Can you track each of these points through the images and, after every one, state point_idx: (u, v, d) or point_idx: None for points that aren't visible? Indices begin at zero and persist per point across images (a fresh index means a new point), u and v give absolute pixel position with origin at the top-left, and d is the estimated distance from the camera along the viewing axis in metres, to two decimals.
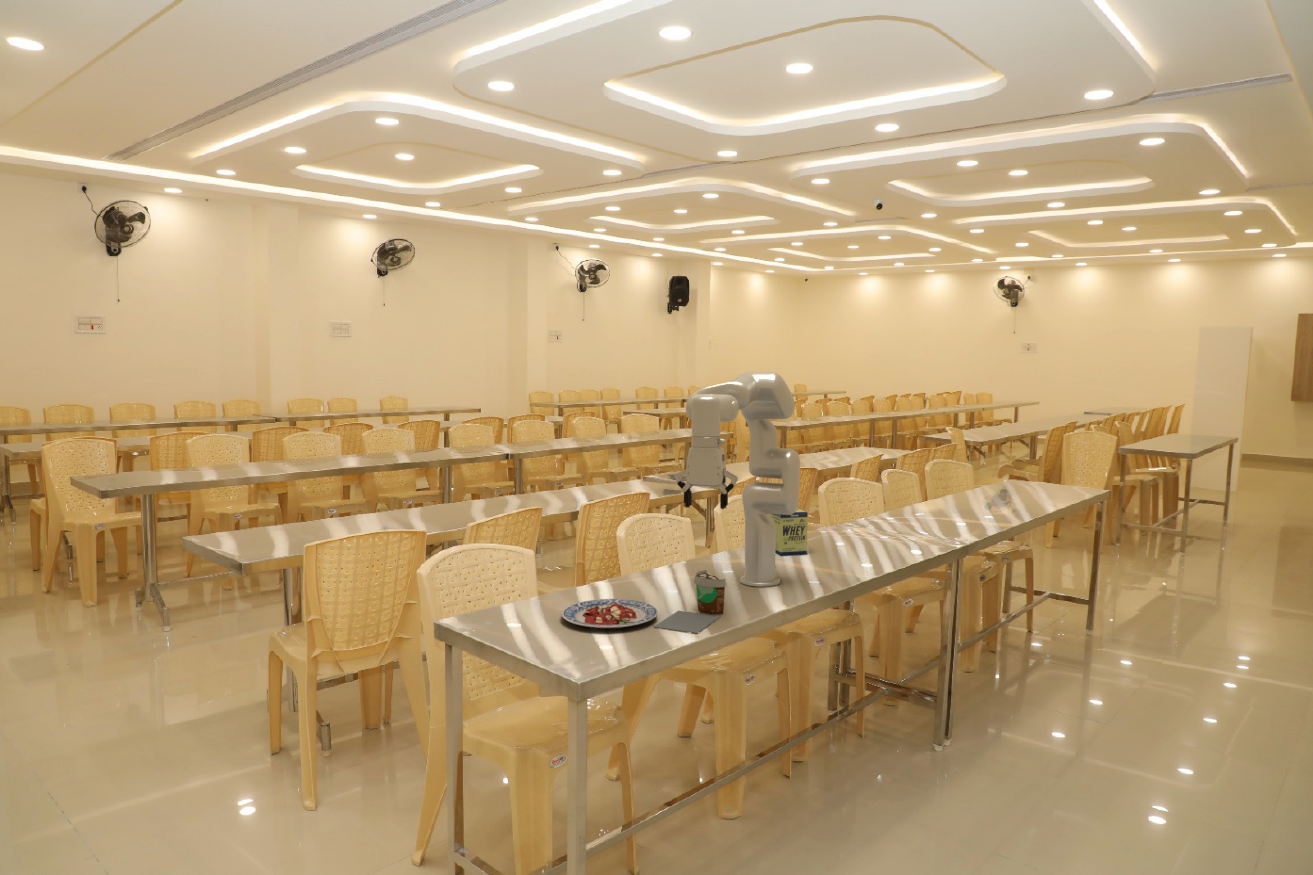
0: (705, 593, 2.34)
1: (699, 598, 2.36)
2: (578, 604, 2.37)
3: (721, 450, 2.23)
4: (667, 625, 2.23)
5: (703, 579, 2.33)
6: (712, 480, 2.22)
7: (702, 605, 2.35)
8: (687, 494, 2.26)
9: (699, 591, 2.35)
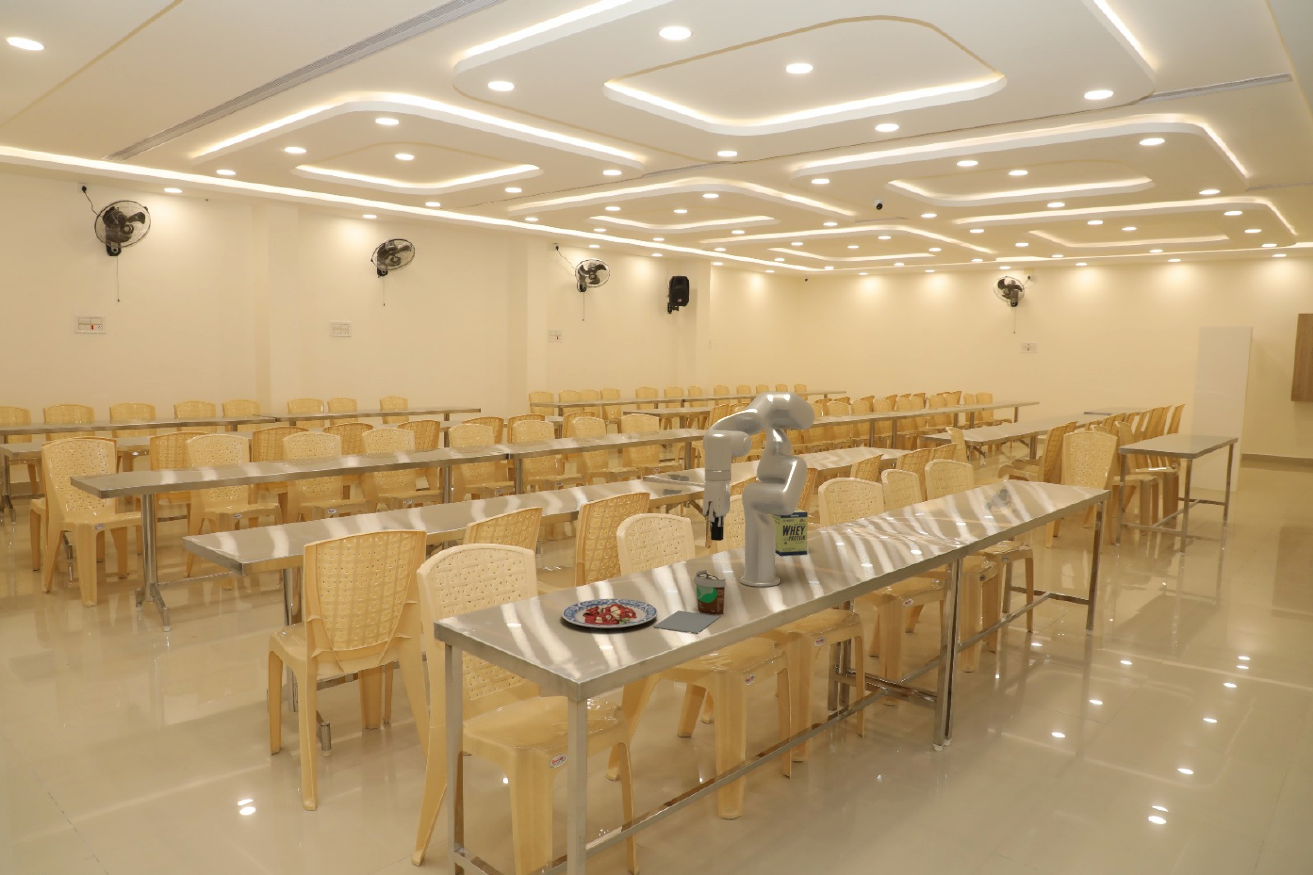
0: (705, 593, 2.34)
1: (699, 598, 2.36)
2: (578, 604, 2.37)
3: None
4: (667, 625, 2.23)
5: (703, 579, 2.33)
6: (727, 509, 2.44)
7: (702, 605, 2.35)
8: None
9: (699, 591, 2.35)
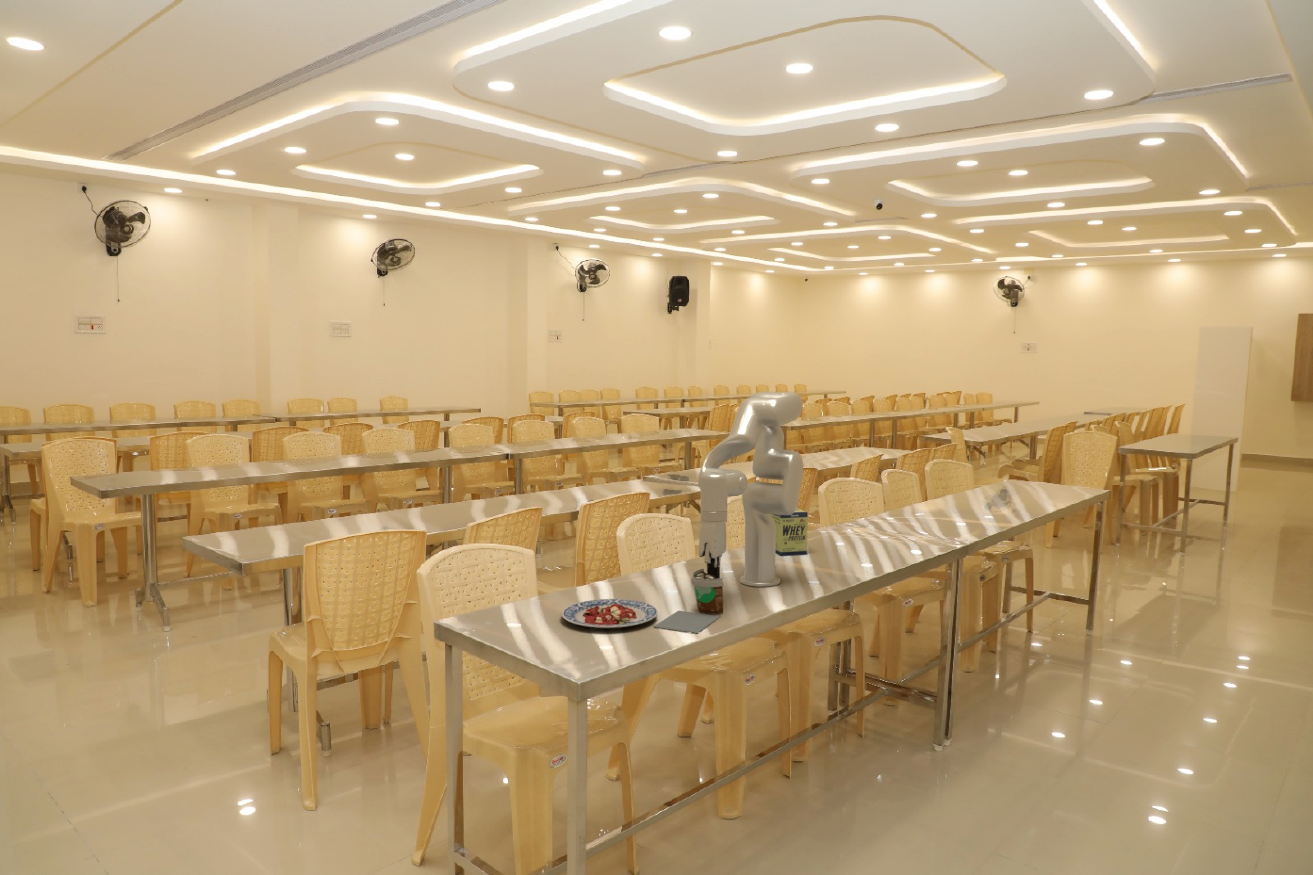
0: (704, 593, 2.33)
1: (698, 598, 2.36)
2: (578, 604, 2.37)
3: None
4: (667, 625, 2.23)
5: (700, 580, 2.33)
6: (724, 549, 2.42)
7: (701, 605, 2.35)
8: None
9: (697, 592, 2.35)
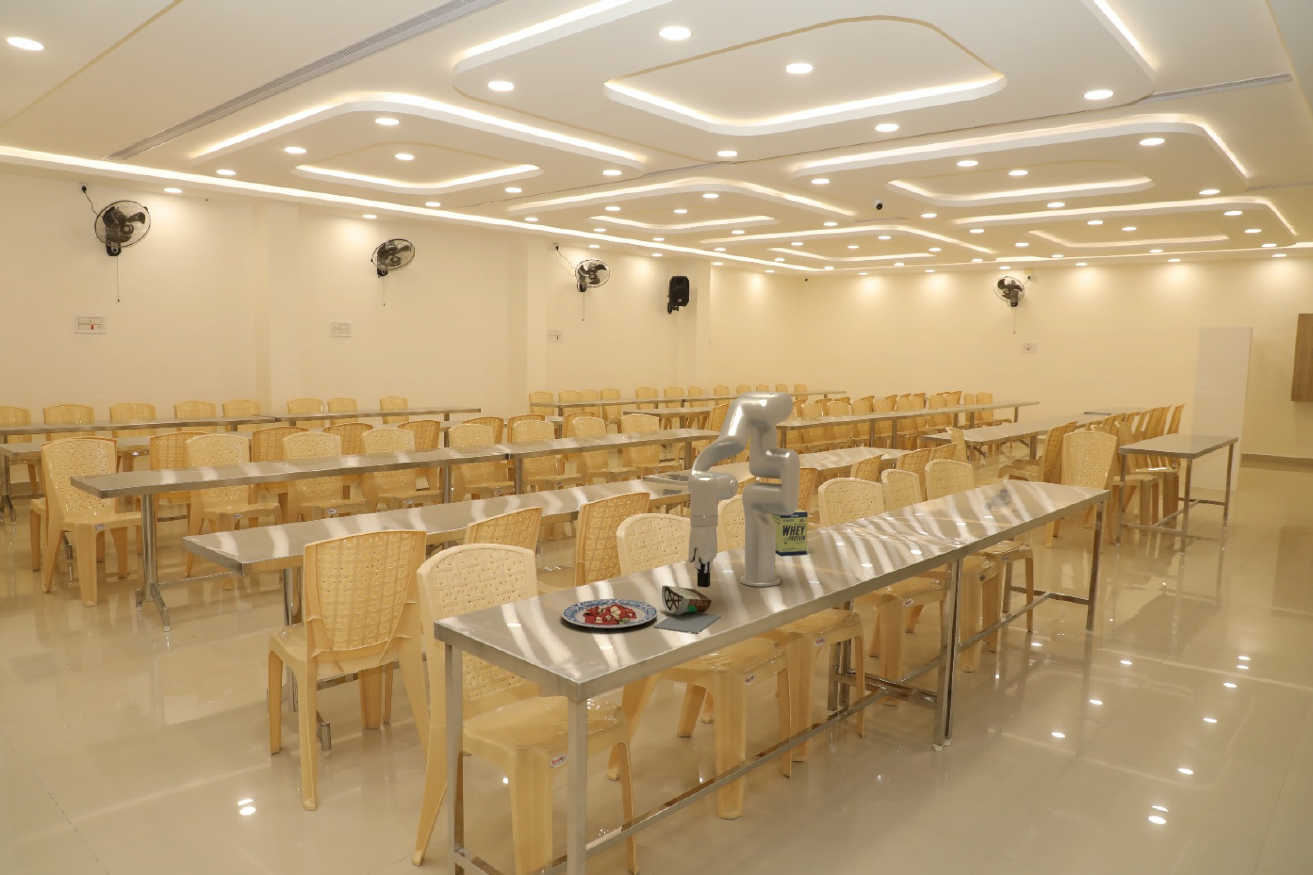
0: (686, 611, 2.31)
1: None
2: (578, 604, 2.37)
3: None
4: (667, 625, 2.23)
5: (673, 612, 2.30)
6: (714, 554, 2.36)
7: (695, 612, 2.34)
8: None
9: None
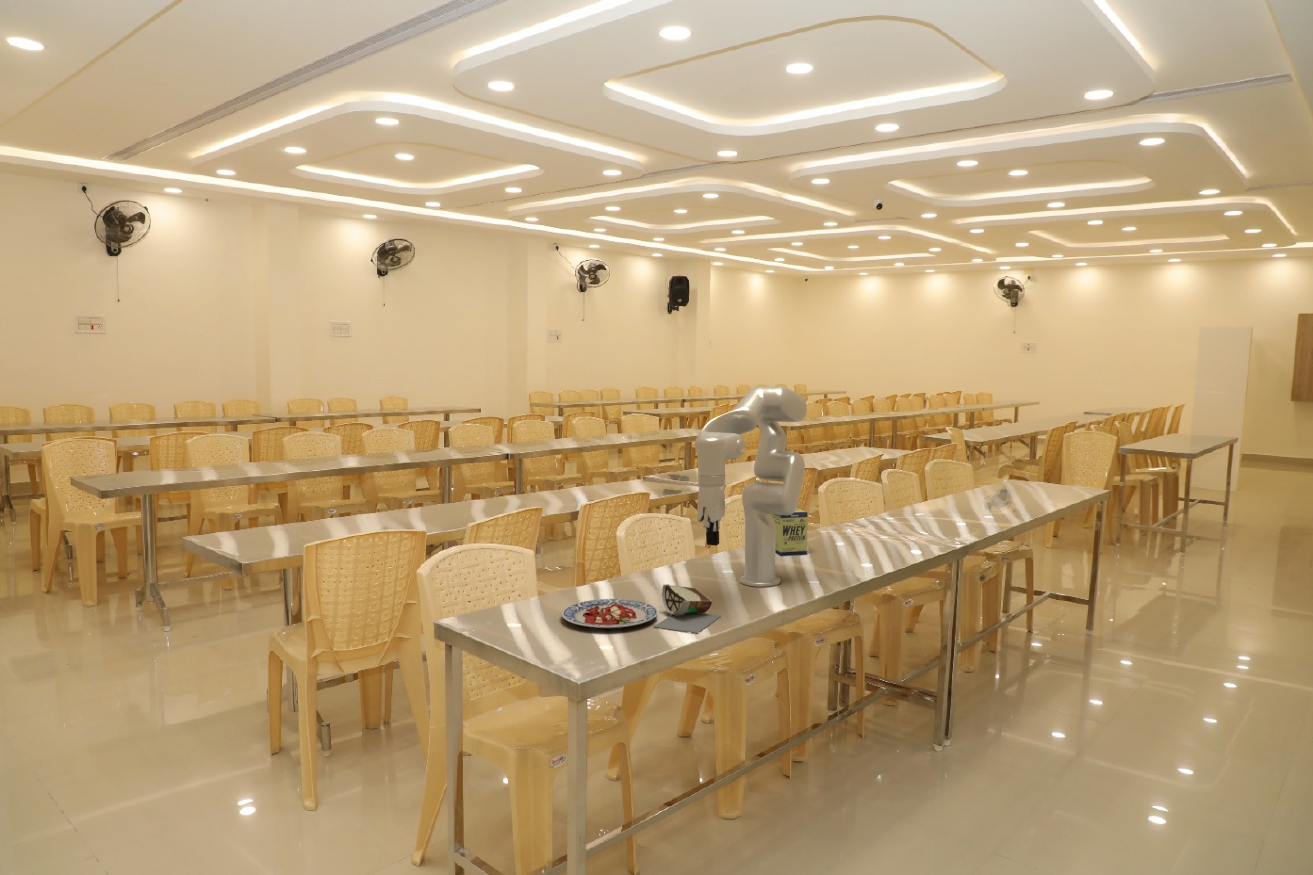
0: (687, 612, 2.31)
1: None
2: (578, 604, 2.37)
3: None
4: (667, 625, 2.23)
5: (674, 613, 2.30)
6: (722, 512, 2.40)
7: None
8: None
9: None
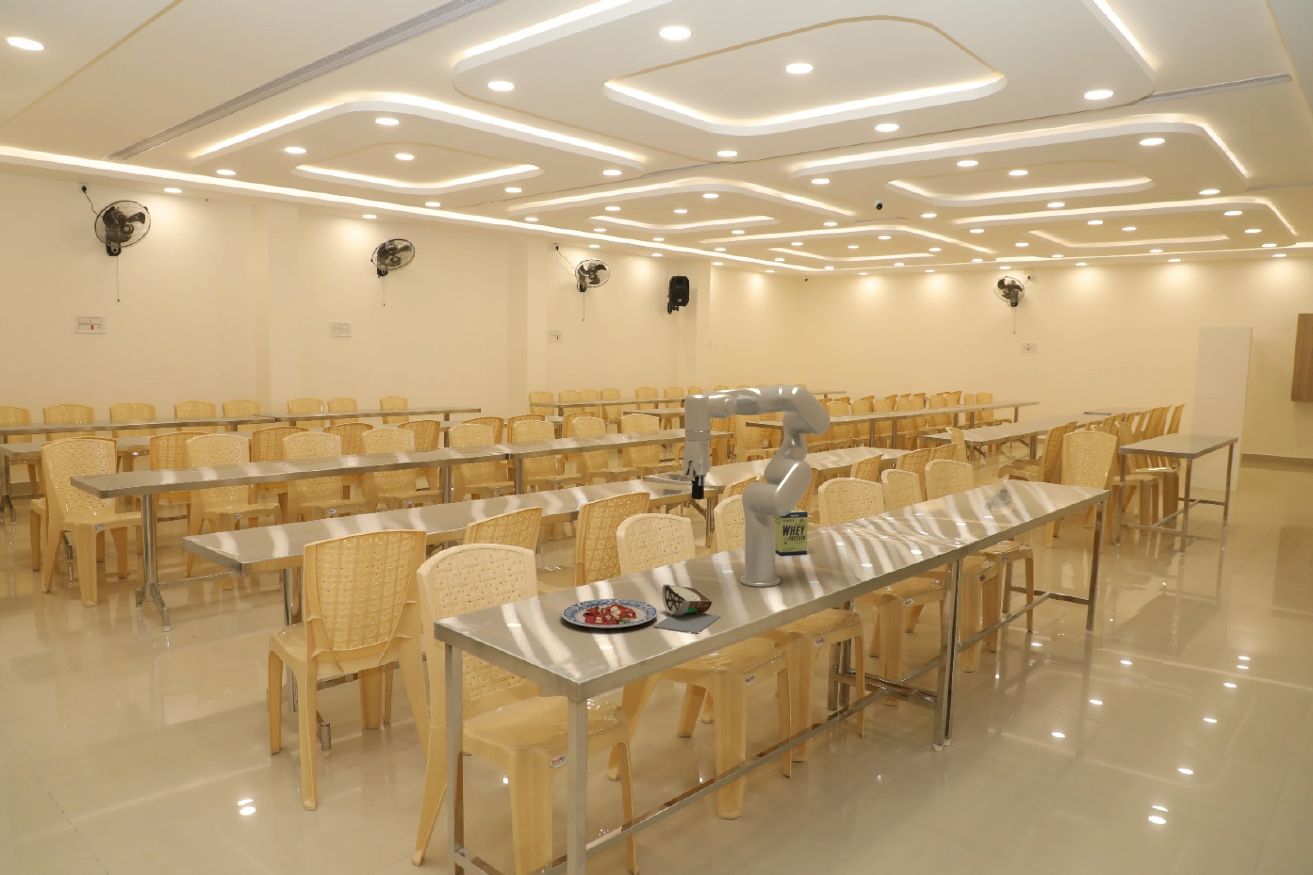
0: (687, 612, 2.31)
1: None
2: (578, 604, 2.37)
3: None
4: (667, 625, 2.23)
5: (674, 613, 2.30)
6: (707, 468, 2.51)
7: None
8: None
9: None
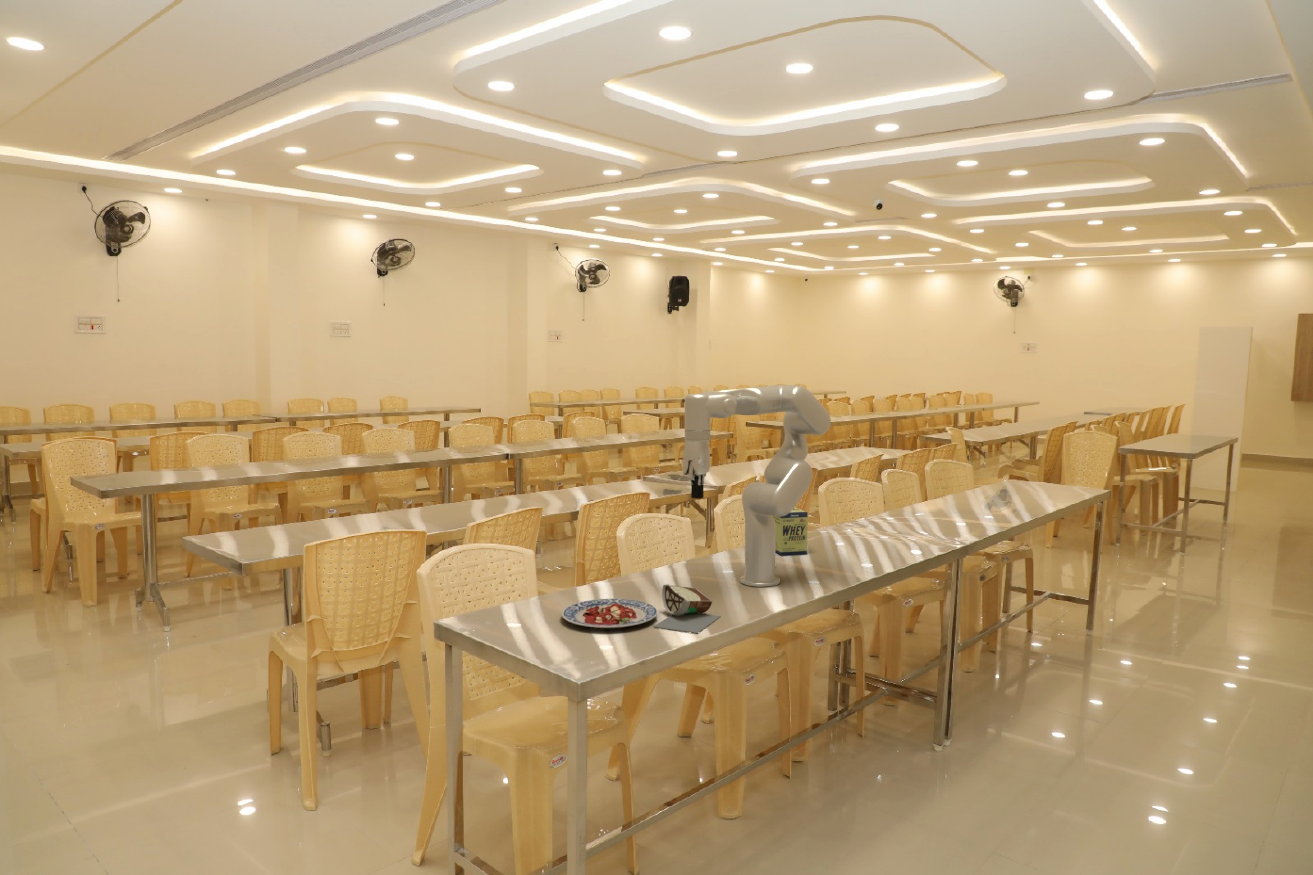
0: (687, 612, 2.31)
1: None
2: (578, 604, 2.37)
3: None
4: (667, 625, 2.23)
5: (674, 613, 2.30)
6: (707, 468, 2.52)
7: None
8: None
9: None
